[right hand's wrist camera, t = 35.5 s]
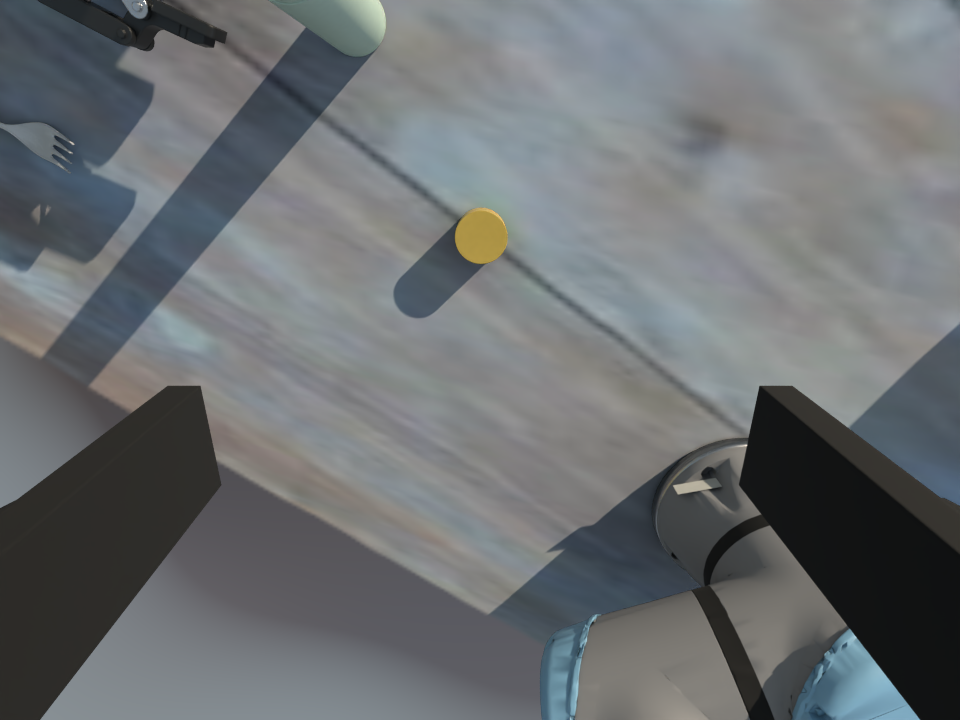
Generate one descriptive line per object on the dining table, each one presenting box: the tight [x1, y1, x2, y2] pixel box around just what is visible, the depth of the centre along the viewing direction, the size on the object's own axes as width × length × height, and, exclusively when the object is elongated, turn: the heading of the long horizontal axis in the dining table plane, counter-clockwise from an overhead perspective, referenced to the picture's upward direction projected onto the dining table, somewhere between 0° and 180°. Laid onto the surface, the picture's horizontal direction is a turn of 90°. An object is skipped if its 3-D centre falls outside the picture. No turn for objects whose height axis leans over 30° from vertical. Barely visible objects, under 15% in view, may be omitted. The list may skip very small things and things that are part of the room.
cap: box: [455, 208, 507, 264], centre depth 42 cm, size 4×4×2 cm
